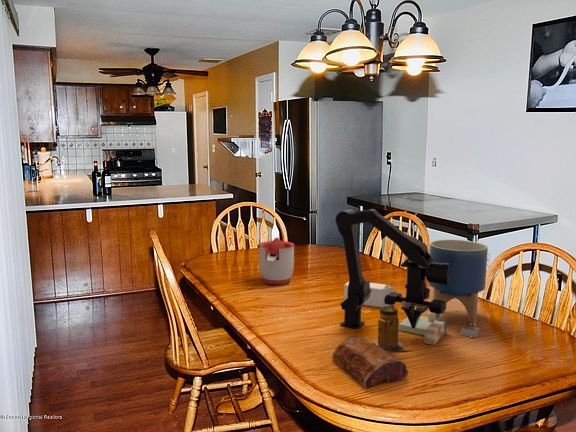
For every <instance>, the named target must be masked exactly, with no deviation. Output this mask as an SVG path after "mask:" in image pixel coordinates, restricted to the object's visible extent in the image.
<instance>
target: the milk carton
mask: <svg viewBox="0 0 576 432" xmlns="http://www.w3.org/2000/svg"><path fill="white" fill-rule="evenodd" d="M348 285H349V281H347V282H346V283H345V284H344V287H343V288H344V289H343V301H345V300H346V299H347V298H348ZM370 289H371V291H372V292H371V293H370V297H369V299H368V300H367V301H366V302H364V304H363V305H362V306H367V307H374V308H375V307H376V308H384V307H395V304H394V305H389V304H385V303H384V298H385V296H386V295H387V294H389V293H390V292H396V288H395V287H392V286H390V285H388V284H383V283H377V282H370Z"/></svg>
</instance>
